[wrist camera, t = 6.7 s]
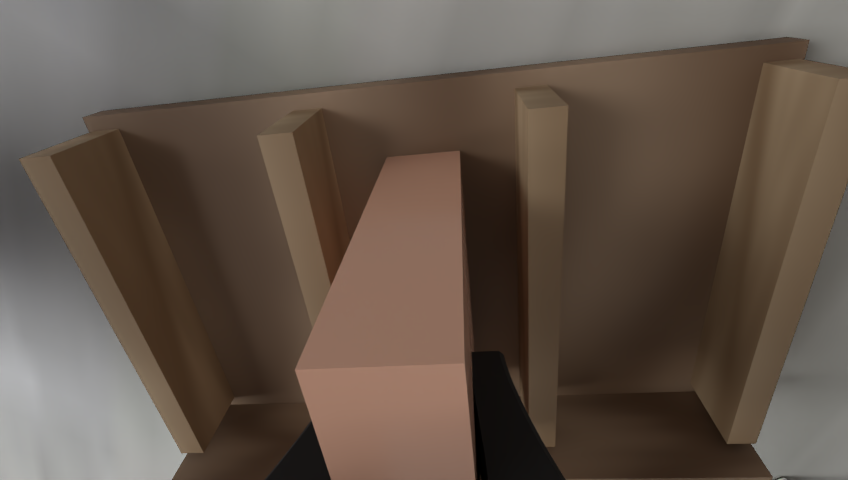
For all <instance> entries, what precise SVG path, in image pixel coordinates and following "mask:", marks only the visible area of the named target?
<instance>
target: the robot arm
mask: <svg viewBox="0 0 848 480" xmlns="http://www.w3.org/2000/svg"><path fill="white" fill-rule="evenodd" d="M472 372H473V391H474V403H475V415H476V428H477V440H478V452H479V464H480V475H481V480H566V479H565V478H564V476H563V475H562V473H561V471H560V470H559V468H558V466H557V465H556V463H555V461H554V460H553V458H552V457H551V455H550V453H549V452H548V450H547V448H546V446H545V445H544V443H543V441H542V439H541V438H540V436H539V434H538V432H537V430H536V428H535V426H534V424H533V423H532V421H531V419H530V417H529V415H528V413H527V411H526V409H525V407H524V405H523V403H522V401H521V399H520V397H519V394H518V392H517V390H516V388H515V386H514V383H513V381H512V378H511V376H510V373H509V370H508V367H507V364H506V361H505V357H504V354H502V353H501V352H500V351H482V352H472ZM265 480H331V478H330V475H329V472H328V469H327V466H326V463H325V460H324V456H323V453H322V450H321V447H320V444H319V441H318V438H317V435H316V432H315V429H314V426H313V423H312V420H311V421H310V422H309V424H308V425H307V427H306V428H305V429H304V431H303V432H302V433H301V435H300V436H299V437H298V439H297V440H296V441H295V443H294V444H293V445H292V446H291V448H290V449H289V450H288V451H287V453H286V454H285V455H284V456H283V458H282V459H281V460H280V461H279V463H278V464H277V465H276V466H275V468H274V469H273V470H272V471H271V473H270V474H269V475H268V476H267V477H266V478H265Z"/></svg>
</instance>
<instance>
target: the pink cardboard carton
mask: <svg viewBox="0 0 848 480" xmlns="http://www.w3.org/2000/svg"><path fill="white" fill-rule="evenodd" d="M472 352H475V342H474V329H473V315H472V302H471V289H470V276H469V263H468V250H467V237H466V224H465V211H464V198H463V185H462V171H461V158H460V151H450V152H439V153H428V154H416V155H405V156H394V157H387V158H386V160H385V163H384V165H383V167H382V170H381V172H380V174H379V177H378V179H377V181H376V184H375V186H374V188H373V190H372V193H371V195H370V197H369V200H368V202H367V204H366V207H365V209H364V211H363V214H362V216H361V218H360V220H359V223H358V225H357V227H356V230H355V232H354V234H353V237H352V239H351V241H350V244H349V246H348V248H347V250H346V253H345V255H344V257H343V260H342V262H341V264H340V267H339V269H338V271H337V274H336V276H335V278H334V281H333V283H332V285H331V287H330V290H329V292H328V294H327V297H326V299H325V301H324V304H323V306H322V308H321V311H320V313H319V315H318V317H317V320H316V322H315V324H314V327H313V329H312V331H311V334H310V336H309V338H308V341H307V343H306V345H305V347H304V350H303V352H302V354H301V357H300V359H299V361H298V364H297V366H296V368H295V372H296V375H297V378H298V381H299V384H300V387H301V390H302V393H303V396H304V399H305V402H306V405H307V408H308V411H309V414H310V417H311V420H312V423H313V426H314V429H315V432H316V435H317V438H318V441H319V444H320V447H321V450H322V453H323V456H324V460H325V463H326V466H327V469H328V472H329V475H330V478H331V480H481V475H480V464H479V452H478V440H477V428H476V415H475V403H474V391H473V372H472Z"/></svg>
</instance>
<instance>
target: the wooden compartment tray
mask: <svg viewBox="0 0 848 480" xmlns="http://www.w3.org/2000/svg"><path fill="white" fill-rule="evenodd" d="M808 44H809V40H806V39H798V38H790V37H784V38H775V39H765V40H756V41H747V42H737V43H728V44H719V45H710V46H700V47H691V48H682V49H673V50H663V51H654V52H645V53H635V54H626V55H617V56H608V57H598V58H589V59H580V60H571V61H561V62H552V63H543V64H534V65H524V66H515V67H506V68H496V69H487V70H478V71H469V72H459V73H450V74H441V75H432V76H422V77H413V78H404V79H394V80H385V81H376V82H367V83H357V84H348V85H339V86H330V87H320V88H311V89H302V90H292V91H283V92H274V93H265V94H255V95H246V96H237V97H228V98H218V99H209V100H200V101H191V102H181V103H172V104H163V105H153V106H144V107H135V108H126V109H116V110H107V111H101V112H98V113H95V114H92V115H89V116H86V117H82V118H83V120H84V122H85V124H86V126H87V128H88V131H89V133H87V134H85V135H82V136H79V137H76V138H74V139H71V140H68V141H66V142H63V143H60V144H58V145H55V146H52V147H49V148H47V149H44V150H41V151H39V152H36V153H33V154H31V155H28V156H25V157H22V158H20V159H19V160H20V162H21V164H22V166H23V168H24V169H25V171H26V173H27V175H28V177H29V178H30V180H31V182H32V184H33V186H34V187H35V189H36V191H37V193H38V195H39V197H40V198H41V200H42V202H43V204H44V206H45V207H46V209H47V211H48V213H49V215H50V216H51V218H52V220H53V222H54V224H55V225H56V227H57V229H58V231H59V233H60V234H61V236H62V238H63V240H64V242H65V243H66V245H67V247H68V249H69V251H70V253H71V254H72V256H73V258H74V260H75V262H76V263H77V265H78V267H79V269H80V271H81V272H82V274H83V276H84V278H85V280H86V281H87V283H88V285H89V287H90V289H91V290H92V292H93V294H94V296H95V298H96V299H97V301H98V303H99V305H100V307H101V308H102V310H103V312H104V314H105V316H106V318H107V319H108V321H109V323H110V325H111V327H112V328H113V330H114V332H115V334H116V336H117V337H118V339H119V341H120V343H121V345H122V346H123V348H124V350H125V352H126V354H127V355H128V357H129V359H130V361H131V363H132V364H133V366H134V368H135V370H136V372H137V373H138V375H139V377H140V379H141V381H142V383H143V384H144V386H145V388H146V390H147V392H148V393H149V395H150V397H151V399H152V401H153V402H154V404H155V406H156V408H157V410H158V411H159V413H160V415H161V417H162V419H163V420H164V422H165V424H166V426H167V428H168V429H169V431H170V433H171V435H172V437H173V439H174V440H175V442H176V444H177V446H178V448H179V449H180V451H181V453H187V455H186V457H185V459H184V460H183V462H182V464H181V465H180V467H179V469H178V470H177V472H176V474H175V475H174V477H173V479H172V480H265V478H266V477H267V476H268V475H269V474H270V473H271V471H272V470H273V469H274V468H275V466H276V465H277V464H278V463H279V461H280V460H281V459H282V458H283V456H284V455H285V454H286V453H287V451H288V450H289V449H290V448H291V446H292V445H293V444H294V443H295V441H296V440H297V439H298V437H299V436H300V435H301V433H302V432H303V431H304V429H305V428H306V427H307V425H308V424H309V422H310V421H311V417H310V414H309V411H308V408H307V405H306V402H305V399H304V396H303V393H302V390H301V387H300V384H299V381H298V378H297V375H296V372H295V368H296V366H297V364H298V361H299V359H300V357H301V354H302V352H303V350H304V347H305V345H306V343H307V341H308V338H309V336H310V334H311V331H312V329H313V327H314V324H315V322H316V320H317V317H318V315H319V313H320V311H321V308H322V306H323V304H324V301H325V299H326V297H327V294H328V292H329V290H330V287H331V285H332V283H333V281H334V278H335V276H336V274H337V271H338V269H339V267H340V264H341V262H342V260H343V257H344V255H345V253H346V250H347V248H348V246H349V244H350V241H351V239H352V237H353V234H354V232H355V230H356V227H357V225H358V223H359V220H360V218H361V216H362V214H363V211H364V209H365V207H366V204H367V202H368V200H369V197H370V195H371V193H372V190H373V188H374V186H375V184H376V181H377V179H378V177H379V174H380V172H381V170H382V167H383V165H384V163H385V160H386V158H387V157H394V156H405V155H416V154H428V153H439V152H450V151H460V158H461V171H462V185H463V198H464V211H465V224H466V237H467V250H468V263H469V276H470V289H471V302H472V315H473V329H474V342H475V352H482V351H500V352H501V353H502V354H504V357H505V361H506V364H507V367H508V370H509V373H510V376H511V378H512V381H513V383H514V386H515V388H516V390H517V392H518V394H519V397H520V399H521V401H522V403H523V405H524V407H525V409H526V411H527V413H528V415H529V417H530V419H531V421H532V423H533V424H534V426H535V428H536V430H537V432H538V434H539V436H540V438H541V439H542V441H543V443H544V445H545V446H546V448H547V450H548V452H549V453H550V455H551V457H552V458H553V460H554V461H555V463H556V465H557V466H558V468H559V470H560V471H561V473H562V475H563V476H564V478H565V479H566V480H772V478H773V477H772V475H771V474H770V472H769V471H768V469H767V468H766V466H765V465H764V463H763V462H762V460H761V459H760V457H759V456H758V454H757V453H756V451H755V450H754V448H753V447H752V445H751V444H755V443H756V442H757V439H758V436H759V433H760V430H761V427H762V425H763V422H764V419H765V416H766V413H767V410H768V408H769V405H770V402H771V399H772V396H773V393H774V391H775V388H776V385H777V382H778V379H779V376H780V373H781V371H782V368H783V365H784V362H785V359H786V356H787V354H788V351H789V348H790V345H791V342H792V339H793V337H794V334H795V331H796V328H797V325H798V322H799V320H800V317H801V314H802V311H803V308H804V305H805V302H806V300H807V297H808V294H809V291H810V288H811V285H812V283H813V280H814V277H815V274H816V271H817V268H818V266H819V263H820V260H821V257H822V254H823V251H824V249H825V246H826V243H827V240H828V237H829V234H830V231H831V229H832V226H833V223H834V220H835V217H836V214H837V212H838V209H839V206H840V203H841V200H842V197H843V195H844V192H845V189H846V186H847V183H848V68H847V67H842V66H836V65H831V64H825V63H820V62H814V61H809V60H804V59H805V55H806V51H807V48H808Z"/></svg>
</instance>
